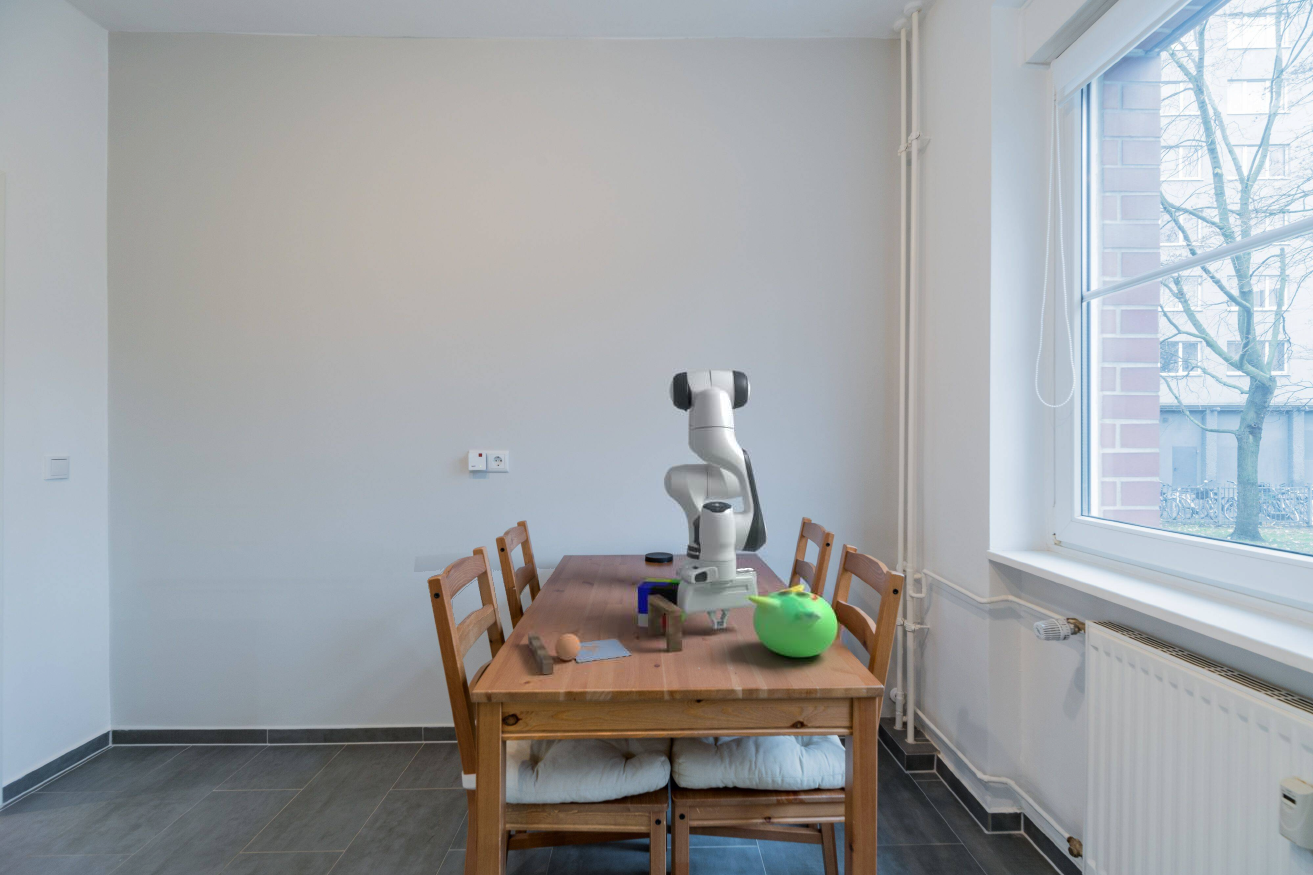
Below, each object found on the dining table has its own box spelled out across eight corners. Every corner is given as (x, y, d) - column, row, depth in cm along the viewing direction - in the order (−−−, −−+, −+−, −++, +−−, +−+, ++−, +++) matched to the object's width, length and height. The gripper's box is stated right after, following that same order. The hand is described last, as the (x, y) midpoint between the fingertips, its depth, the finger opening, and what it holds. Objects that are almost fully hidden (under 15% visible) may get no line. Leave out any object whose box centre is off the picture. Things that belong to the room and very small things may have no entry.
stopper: (528, 644, 148) (528, 633, 148) (537, 643, 149) (536, 632, 149) (543, 675, 129) (543, 662, 129) (553, 673, 130) (553, 661, 130)
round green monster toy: (845, 649, 142) (845, 583, 142) (824, 675, 127) (823, 601, 127) (768, 637, 151) (767, 575, 151) (740, 660, 136) (739, 591, 136)
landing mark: (566, 645, 147) (566, 644, 147) (616, 639, 151) (616, 638, 151) (577, 663, 136) (577, 662, 136) (631, 655, 140) (631, 654, 140)
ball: (579, 645, 142) (555, 656, 140) (573, 625, 140) (549, 635, 139) (586, 658, 137) (562, 669, 135) (580, 637, 136) (555, 647, 134)
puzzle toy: (638, 626, 161) (637, 587, 161) (648, 615, 171) (647, 578, 171) (676, 629, 159) (676, 588, 159) (684, 617, 168) (684, 579, 168)
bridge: (669, 652, 142) (669, 610, 142) (648, 633, 155) (647, 595, 155) (682, 650, 143) (681, 609, 143) (659, 631, 156) (659, 594, 156)
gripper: (750, 564, 160) (750, 619, 160) (674, 571, 153) (675, 628, 153) (762, 569, 154) (763, 626, 154) (684, 576, 147) (685, 636, 147)
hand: (718, 627), depth 154 cm, fingers closed
